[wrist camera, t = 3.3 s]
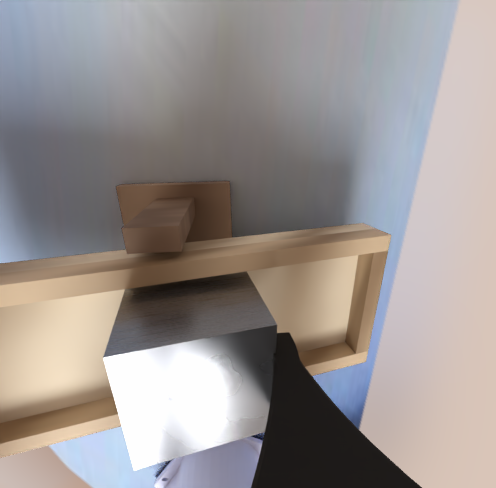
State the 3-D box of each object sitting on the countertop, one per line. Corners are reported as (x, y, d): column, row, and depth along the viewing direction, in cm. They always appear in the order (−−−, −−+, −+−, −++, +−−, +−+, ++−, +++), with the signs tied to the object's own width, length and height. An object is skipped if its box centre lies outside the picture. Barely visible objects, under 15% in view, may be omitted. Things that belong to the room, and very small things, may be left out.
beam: (357, 220, 14) (391, 235, 12) (340, 333, 17) (365, 361, 15) (-128, 273, 9) (-221, 314, 7) (-37, 419, 12) (-82, 479, 10)
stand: (229, 180, 15) (233, 204, 9) (236, 344, 19) (242, 427, 14) (121, 184, 14) (56, 211, 9) (154, 351, 19) (125, 439, 13)
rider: (245, 268, 12) (277, 324, 8) (245, 353, 14) (272, 429, 10) (126, 284, 10) (103, 357, 7) (145, 375, 12) (134, 470, 9)
